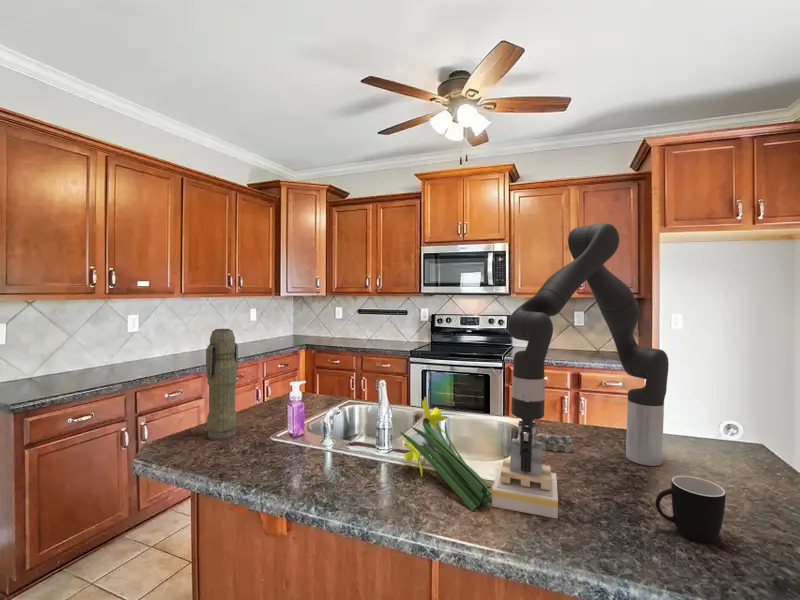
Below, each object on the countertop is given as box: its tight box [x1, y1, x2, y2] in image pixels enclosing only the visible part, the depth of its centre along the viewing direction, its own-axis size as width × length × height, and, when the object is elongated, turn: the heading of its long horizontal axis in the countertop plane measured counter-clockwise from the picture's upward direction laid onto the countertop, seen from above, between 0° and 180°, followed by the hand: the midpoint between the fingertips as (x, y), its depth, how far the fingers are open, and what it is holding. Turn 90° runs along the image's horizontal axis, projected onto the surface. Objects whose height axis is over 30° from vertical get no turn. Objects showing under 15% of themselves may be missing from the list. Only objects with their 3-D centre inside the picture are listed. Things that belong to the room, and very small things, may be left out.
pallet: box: [501, 438, 552, 490], centre depth 98 cm, size 8×11×8 cm
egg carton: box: [535, 433, 574, 454], centre depth 130 cm, size 11×8×4 cm
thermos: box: [205, 328, 239, 441], centre depth 135 cm, size 9×12×35 cm
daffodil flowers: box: [399, 396, 492, 512], centre depth 107 cm, size 17×15×35 cm
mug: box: [655, 475, 727, 544], centre depth 84 cm, size 12×9×10 cm
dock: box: [491, 464, 559, 519], centre depth 98 cm, size 14×14×4 cm
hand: (526, 466), depth 98 cm, fingers closed on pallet, 5 cm apart
